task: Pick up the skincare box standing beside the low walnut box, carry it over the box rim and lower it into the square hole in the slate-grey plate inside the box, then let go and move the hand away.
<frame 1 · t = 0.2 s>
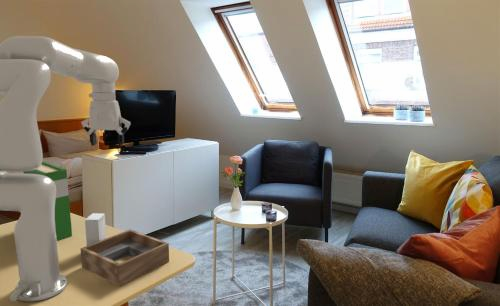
hand: (107, 145, 146), 31 cm above the table, tool pointing down, fingers open, 9 cm apart
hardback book: (50, 232, 146), on the table
socket box: (126, 264, 123), on the table
skincare box: (97, 252, 132), on the table
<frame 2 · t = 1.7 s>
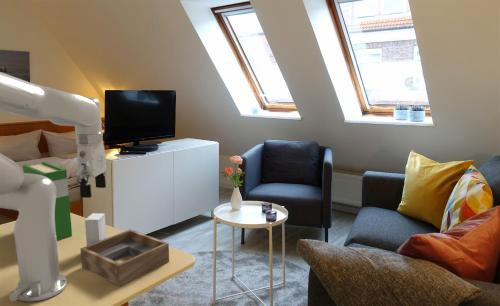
hand: (93, 192, 128), 20 cm above the table, tool pointing down, fingers open, 9 cm apart
nothing on the table moved.
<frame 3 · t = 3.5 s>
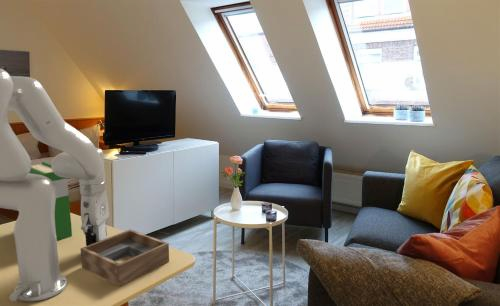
hand: (96, 240, 131), 4 cm above the table, tool pointing down, fingers closed on skincare box, 6 cm apart
skincare box: (97, 251, 132), on the table, touching gripper
everything else where it was.
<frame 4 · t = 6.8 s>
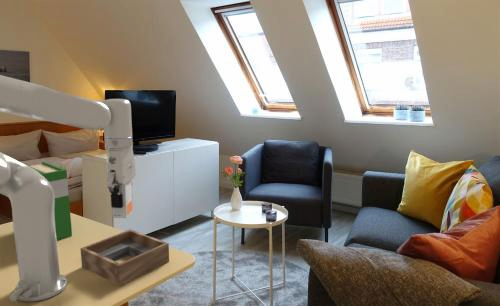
hand: (122, 202, 119), 19 cm above the table, tool pointing down, fingers closed on skincare box, 6 cm apart
skincare box: (123, 215, 120), point 16 cm above the table, touching gripper
everything else where it was.
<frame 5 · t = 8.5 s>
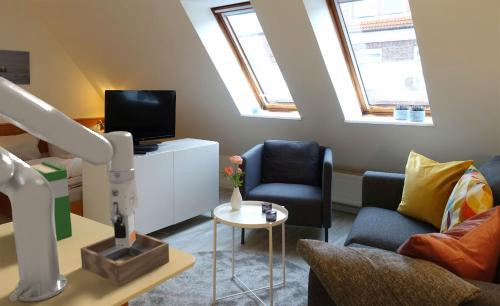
hand: (125, 232, 121), 10 cm above the table, tool pointing down, fingers closed on skincare box, 6 cm apart
skincare box: (126, 244, 122), point 6 cm above the table, touching gripper
everything else where it was.
when the fingers open (5 cm above the table, at t = 10.0 s): skincare box drops 1 cm, resting in socket box.
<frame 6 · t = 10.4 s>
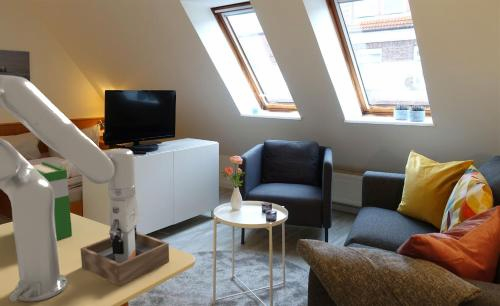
hand: (125, 246, 122), 6 cm above the table, tool pointing down, fingers open, 9 cm apart
skincare box: (126, 264, 124), resting in socket box
everything else where it was.
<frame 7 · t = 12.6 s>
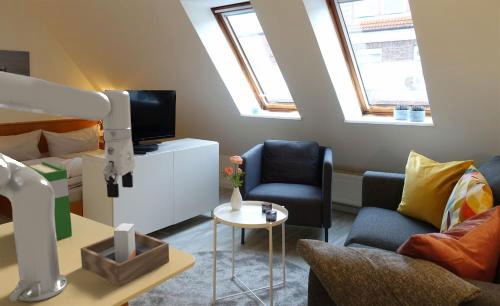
hand: (120, 192, 119), 23 cm above the table, tool pointing down, fingers open, 9 cm apart
nothing on the table moved.
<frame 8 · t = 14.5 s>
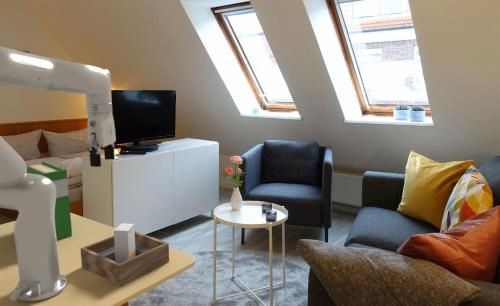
hand: (103, 162, 130), 28 cm above the table, tool pointing down, fingers open, 9 cm apart
nothing on the table moved.
at the end: skincare box 0.1 cm off-centre on the socket box, point 0.0 cm above the socket box's base; skincare box tilted 0°; the gripper is holding nothing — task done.
